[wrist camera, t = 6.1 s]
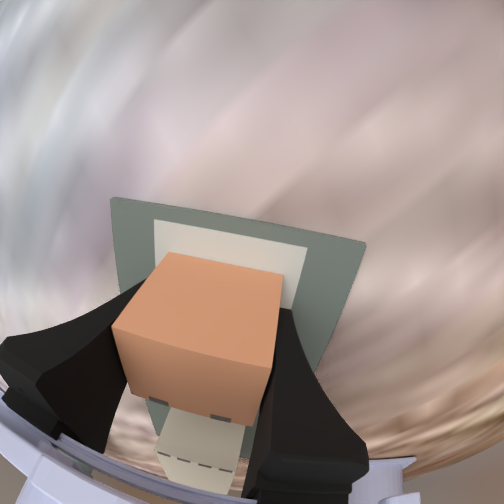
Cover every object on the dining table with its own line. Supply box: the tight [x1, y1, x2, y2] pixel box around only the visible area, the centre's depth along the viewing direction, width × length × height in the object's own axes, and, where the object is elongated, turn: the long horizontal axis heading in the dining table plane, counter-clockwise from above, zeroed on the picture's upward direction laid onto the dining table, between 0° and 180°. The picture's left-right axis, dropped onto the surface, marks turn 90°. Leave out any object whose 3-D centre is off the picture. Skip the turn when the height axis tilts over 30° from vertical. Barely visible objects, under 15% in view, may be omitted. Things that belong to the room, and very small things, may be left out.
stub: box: [111, 252, 283, 427], centre depth 11 cm, size 4×5×5 cm
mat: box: [110, 197, 366, 459], centre depth 17 cm, size 24×11×1 cm, turn 172°
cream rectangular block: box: [154, 407, 246, 495], centre depth 18 cm, size 10×5×5 cm, turn 172°
